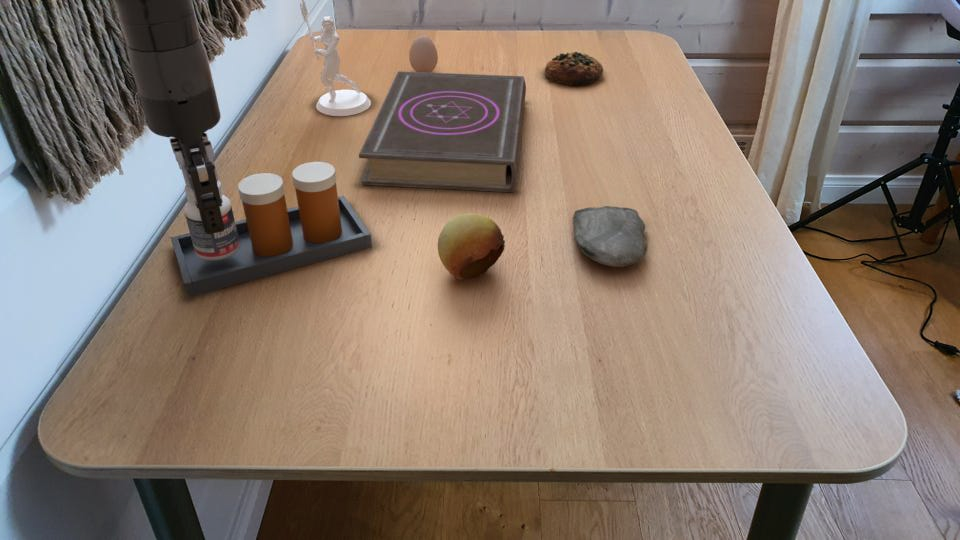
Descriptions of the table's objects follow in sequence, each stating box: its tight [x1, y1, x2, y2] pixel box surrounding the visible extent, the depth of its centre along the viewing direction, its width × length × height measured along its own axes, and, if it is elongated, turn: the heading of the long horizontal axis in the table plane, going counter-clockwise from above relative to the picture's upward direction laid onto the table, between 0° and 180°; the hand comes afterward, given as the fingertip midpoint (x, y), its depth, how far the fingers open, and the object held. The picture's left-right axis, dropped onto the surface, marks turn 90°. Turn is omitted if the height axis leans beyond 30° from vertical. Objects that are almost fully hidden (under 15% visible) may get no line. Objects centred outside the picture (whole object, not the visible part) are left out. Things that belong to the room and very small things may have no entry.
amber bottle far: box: [291, 161, 342, 243], centre depth 93 cm, size 5×5×9 cm
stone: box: [572, 205, 648, 268], centre depth 93 cm, size 13×9×3 cm
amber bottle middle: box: [237, 172, 293, 257], centre depth 90 cm, size 5×5×9 cm
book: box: [358, 70, 527, 193], centre depth 116 cm, size 30×22×5 cm
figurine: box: [299, 0, 372, 117], centre depth 123 cm, size 10×10×18 cm
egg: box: [408, 34, 439, 73], centre depth 137 cm, size 5×5×7 cm
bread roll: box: [544, 51, 604, 87], centre depth 138 cm, size 11×11×5 cm
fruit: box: [437, 212, 506, 281], centre depth 87 cm, size 8×8×8 cm
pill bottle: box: [183, 179, 240, 260], centre depth 87 cm, size 5×5×9 cm
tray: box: [170, 195, 373, 298], centre depth 93 cm, size 23×11×2 cm, turn 117°
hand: (209, 218), depth 87 cm, fingers closed on pill bottle, 5 cm apart
